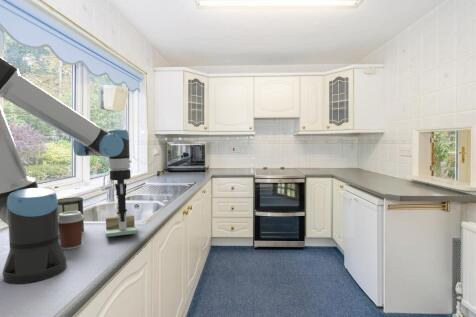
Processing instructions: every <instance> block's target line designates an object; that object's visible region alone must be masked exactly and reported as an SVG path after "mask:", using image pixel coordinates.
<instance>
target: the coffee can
mask: <svg viewBox="0 0 476 317" xmlns="http://www.w3.org/2000/svg"><path fill="white" fill-rule="evenodd" d="M57 200H58V206H57V207H58V217H59V214H60V213H63V212H69V211H80V212H81V214H82V215H83V216H84V202H83V200H84V198H83V197H79V196H78V197H76V196H75V197H64V198H59V199H58V198H57ZM84 220H85V219H84ZM84 220H83V221H82V235H83V234H84V233H85V224H84ZM58 235H59V229H58ZM59 238H60V236H59Z"/></svg>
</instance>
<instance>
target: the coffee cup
mask: <svg viewBox="0 0 476 317" xmlns="http://www.w3.org/2000/svg"><path fill="white" fill-rule="evenodd" d="M83 220H85V215H84V214H83V215H82V214H81V212H80V211H69V212H63V213H60V214H59V217H58V229H59V236H60V237H59V243H60V245H61V248H62V250H65V251H66V250H73V249H74V250H75V249H77V248H80V247H81V246H82V239H83V238H82V236H83V234H82V221H83Z"/></svg>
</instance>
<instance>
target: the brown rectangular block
mask: <svg viewBox="0 0 476 317" xmlns="http://www.w3.org/2000/svg"><path fill="white" fill-rule="evenodd" d="M126 226H127V227H133V226H135V214H126ZM135 227H136V226H135ZM116 228H119V217H118V215H116V216H107V217H105V231H106V230H107V229H116Z"/></svg>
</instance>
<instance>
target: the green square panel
mask: <svg viewBox="0 0 476 317" xmlns="http://www.w3.org/2000/svg"><path fill="white" fill-rule="evenodd" d="M132 234H134V235H135V234H138V229H137V228H136V226H133V227H127V229H124V230H119V228H116V229H107V230H106V229H105V238H108V237H117V236H125V235H132Z"/></svg>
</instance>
